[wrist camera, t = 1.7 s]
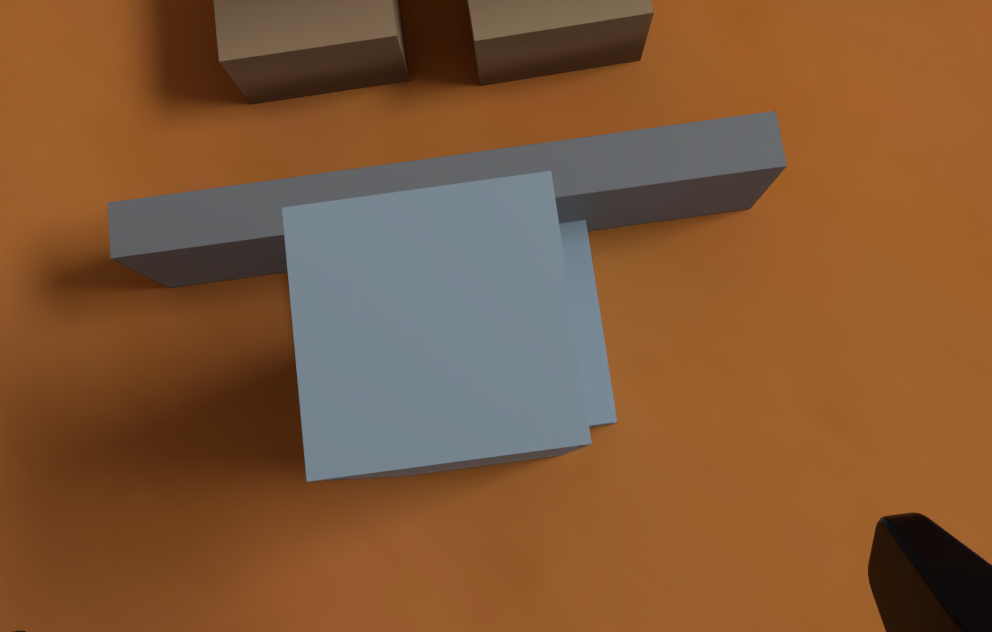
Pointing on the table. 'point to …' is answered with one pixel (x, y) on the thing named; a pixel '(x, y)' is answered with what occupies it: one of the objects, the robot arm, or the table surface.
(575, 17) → the walnut block
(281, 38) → the walnut block
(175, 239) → the scraper
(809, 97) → the table surface
